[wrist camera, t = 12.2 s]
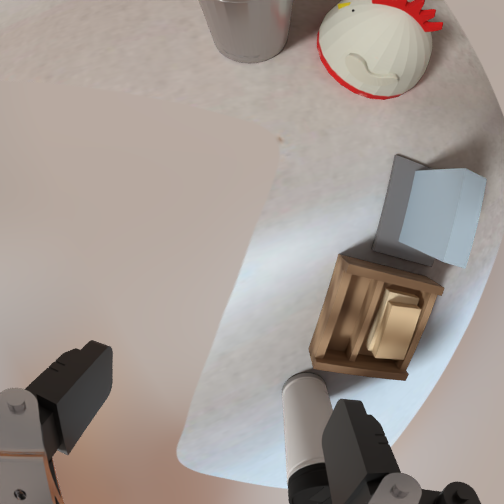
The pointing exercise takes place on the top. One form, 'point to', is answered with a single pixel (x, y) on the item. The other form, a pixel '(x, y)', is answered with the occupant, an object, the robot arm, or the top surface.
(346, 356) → the rack
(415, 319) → the offcut upper
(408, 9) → the kitchen timer
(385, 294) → the offcut lower
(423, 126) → the top surface
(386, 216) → the mat
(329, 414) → the travel mug
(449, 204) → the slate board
